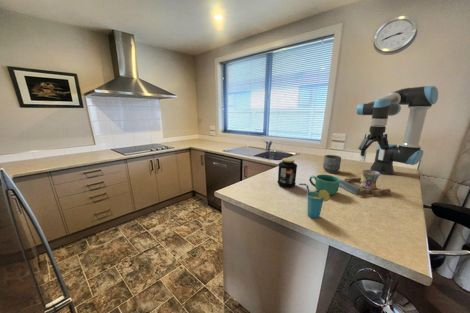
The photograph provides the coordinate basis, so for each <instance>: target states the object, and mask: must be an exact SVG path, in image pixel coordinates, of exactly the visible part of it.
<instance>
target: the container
mask: <svg viewBox="0 0 470 313" xmlns="http://www.w3.org/2000/svg"><path fill="white" fill-rule="evenodd" d="M297 168H298V164H297V163H295V159H294V158H291V157H283V158H282V159H281V162H279V163H278V173H277V184H278V185H279V186H281V187H285V188H292V187H294V186H295V185H296V184H297V183H296V180H297V178H296V177H297V171H298V170H297Z"/></svg>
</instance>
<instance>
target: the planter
mask: <svg viewBox="0 0 470 313" xmlns="http://www.w3.org/2000/svg"><path fill="white" fill-rule="evenodd" d="M341 161H342V157H341V156H339V155H333V154H325V155H324V157H323V164H322V168H323V170H324V171H325V172H326V173H327V174H336V173H337V172H339V170H340V168H341V163H342V162H341Z"/></svg>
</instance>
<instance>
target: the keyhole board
mask: <svg viewBox="0 0 470 313" xmlns="http://www.w3.org/2000/svg"><path fill="white" fill-rule="evenodd" d="M338 179H339V180H340V183H339V188H341V189H343V190H345V191H347V192H349V193H351V194H352V195H355V196H356V197H359V198H360V199H362V198H370V197H378V196H380V197H381V196H388V195H391V192H392V190H391V189H390V188H385V189H381V188H378V187H377V189H374V190H372V189H366V188H363V187H362V186H361V184H362V182H363V181H362V177H360V176H358V177H351V178H350V177H349V178H344V180H343V179H340V178H338Z"/></svg>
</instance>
